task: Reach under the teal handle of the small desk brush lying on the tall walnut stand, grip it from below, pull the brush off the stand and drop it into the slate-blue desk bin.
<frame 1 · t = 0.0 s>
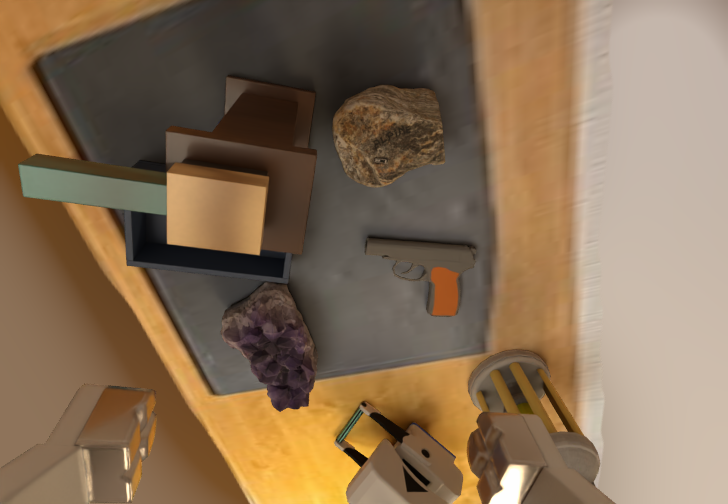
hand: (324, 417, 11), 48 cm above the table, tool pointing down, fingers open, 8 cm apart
lantern: (507, 379, 80), on the table
geode: (281, 331, 70), on the table
desk bin: (220, 214, 60), on the table
stone: (384, 129, 56), on the table
handgun: (414, 274, 67), on the table
robotic device: (394, 432, 84), on the table
stand: (269, 118, 54), on the table
brush: (195, 191, 32), point 25 cm above the table, touching stand
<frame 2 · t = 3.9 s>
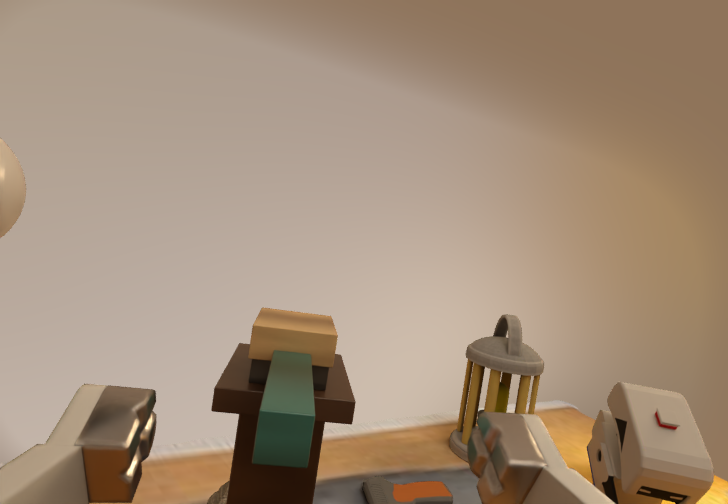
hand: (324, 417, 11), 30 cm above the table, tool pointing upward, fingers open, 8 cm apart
lantern: (488, 453, 81), on the table
brush: (287, 382, 28), point 25 cm above the table, touching stand
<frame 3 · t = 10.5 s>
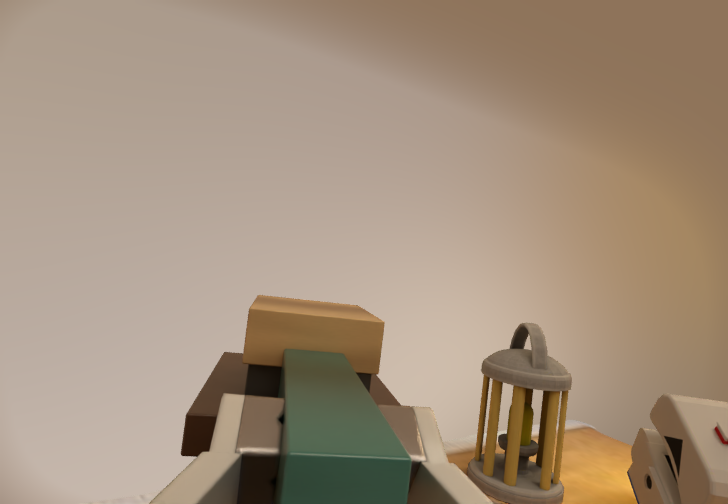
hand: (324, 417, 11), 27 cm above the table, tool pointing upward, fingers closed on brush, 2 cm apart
lantern: (513, 485, 70), on the table
brush: (305, 402, 17), point 25 cm above the table, touching gripper, stand
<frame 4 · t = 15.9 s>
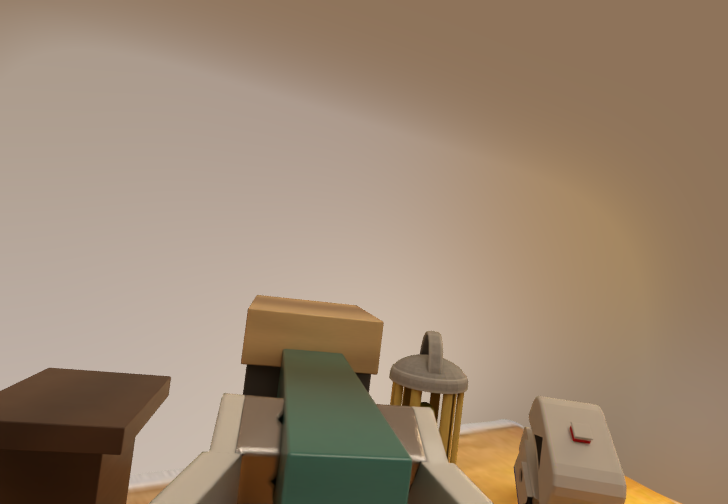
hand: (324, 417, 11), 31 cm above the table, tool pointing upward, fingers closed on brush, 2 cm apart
lantern: (416, 479, 77), on the table
brush: (304, 402, 17), point 29 cm above the table, touching gripper
when the fingers open (16 cm above the table, at t = 21.7 s): brush drops 13 cm, resting on desk bin.
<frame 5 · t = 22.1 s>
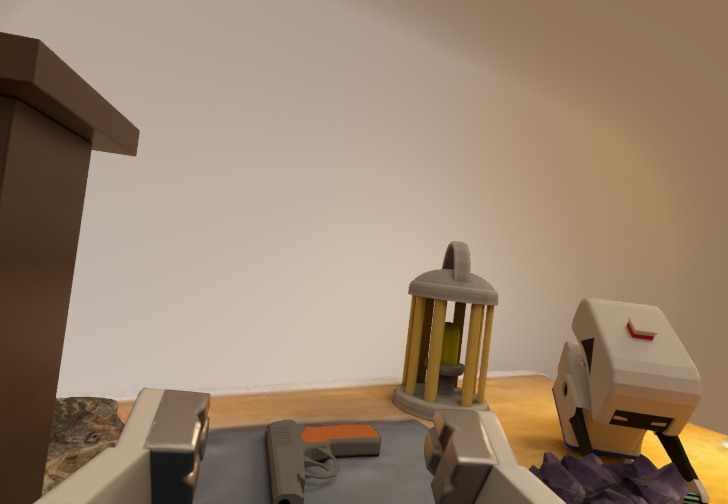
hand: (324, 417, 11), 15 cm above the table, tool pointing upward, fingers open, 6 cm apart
lantern: (439, 408, 68), on the table
handgun: (329, 471, 43), on the table
robotic device: (608, 463, 54), on the table
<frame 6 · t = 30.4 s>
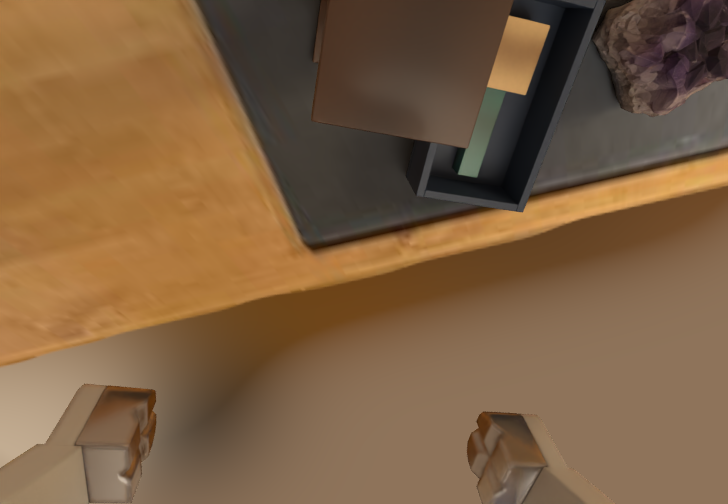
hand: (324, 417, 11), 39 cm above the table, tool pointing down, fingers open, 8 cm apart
geode: (685, 26, 45), on the table
desk bin: (482, 94, 47), on the table
stand: (363, 11, 42), on the table
brush: (491, 73, 45), point 1 cm above the table, touching desk bin
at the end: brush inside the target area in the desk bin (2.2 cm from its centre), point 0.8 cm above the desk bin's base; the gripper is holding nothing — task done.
